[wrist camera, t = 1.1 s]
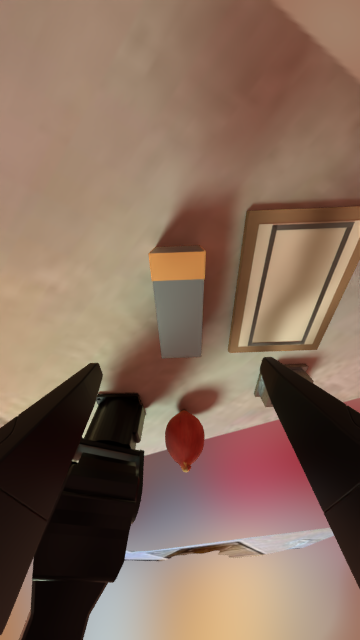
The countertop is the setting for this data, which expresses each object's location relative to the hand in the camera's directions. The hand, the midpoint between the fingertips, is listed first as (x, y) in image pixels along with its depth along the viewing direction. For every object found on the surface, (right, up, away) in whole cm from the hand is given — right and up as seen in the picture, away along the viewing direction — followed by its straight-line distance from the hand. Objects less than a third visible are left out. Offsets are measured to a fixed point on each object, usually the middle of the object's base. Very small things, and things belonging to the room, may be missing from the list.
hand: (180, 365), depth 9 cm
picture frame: (+11, +5, +9) cm, 15 cm away
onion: (+1, -13, +19) cm, 23 cm away
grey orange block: (0, +5, +9) cm, 10 cm away
